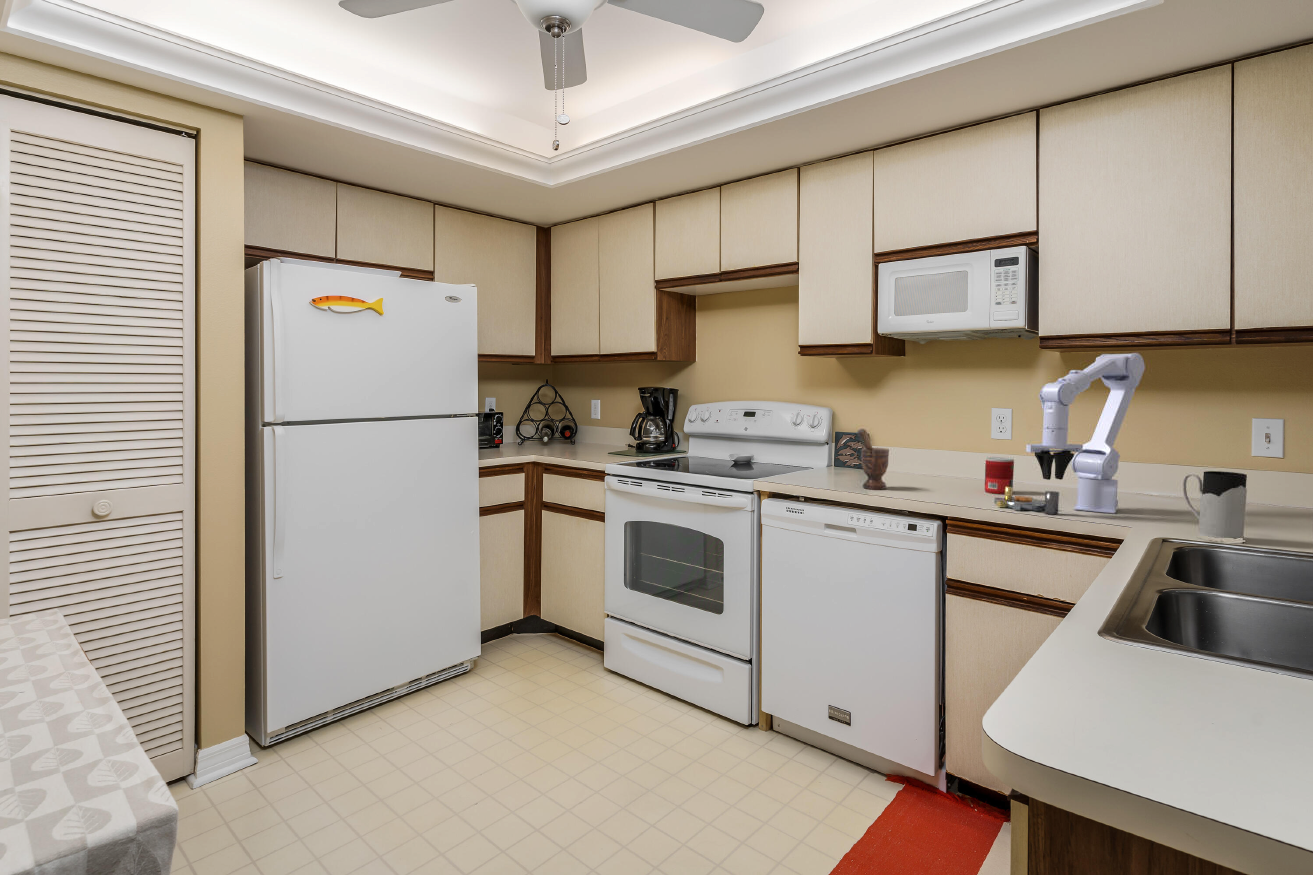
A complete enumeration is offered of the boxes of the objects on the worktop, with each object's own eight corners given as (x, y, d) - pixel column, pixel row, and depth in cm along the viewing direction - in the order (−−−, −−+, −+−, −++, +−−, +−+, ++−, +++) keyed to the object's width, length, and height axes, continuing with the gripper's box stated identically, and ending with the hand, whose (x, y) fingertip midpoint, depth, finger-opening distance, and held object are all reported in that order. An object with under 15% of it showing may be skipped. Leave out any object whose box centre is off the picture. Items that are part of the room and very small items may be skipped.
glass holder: (1222, 544, 150) (1227, 476, 149) (1164, 530, 164) (1168, 468, 163) (1256, 542, 151) (1261, 475, 150) (1196, 528, 165) (1200, 467, 164)
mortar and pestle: (878, 492, 217) (880, 429, 216) (852, 489, 223) (853, 428, 221) (891, 488, 226) (893, 427, 225) (866, 485, 232) (867, 426, 230)
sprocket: (1031, 501, 201) (1032, 482, 200) (1065, 510, 186) (1066, 490, 186) (984, 501, 200) (984, 483, 199) (1013, 511, 185) (1014, 491, 185)
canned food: (1015, 495, 213) (1017, 459, 212) (988, 494, 214) (989, 459, 213) (1008, 491, 220) (1009, 457, 219) (981, 490, 222) (983, 456, 221)
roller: (1058, 513, 184) (1059, 491, 183) (1057, 515, 181) (1058, 493, 181) (1044, 512, 186) (1046, 490, 185) (1043, 514, 183) (1044, 492, 182)
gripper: (1071, 427, 186) (1068, 476, 187) (1020, 427, 185) (1017, 477, 186) (1089, 429, 179) (1086, 480, 180) (1036, 429, 178) (1034, 481, 179)
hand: (1052, 479), depth 182 cm, fingers open, 3 cm apart
